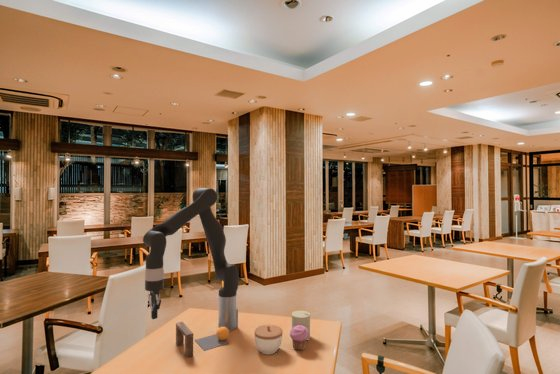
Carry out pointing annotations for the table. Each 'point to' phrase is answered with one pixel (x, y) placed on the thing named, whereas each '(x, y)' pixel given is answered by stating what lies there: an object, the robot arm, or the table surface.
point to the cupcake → (299, 336)
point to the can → (301, 319)
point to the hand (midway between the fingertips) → (154, 318)
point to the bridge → (185, 331)
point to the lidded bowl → (268, 338)
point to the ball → (222, 333)
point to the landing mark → (210, 342)
